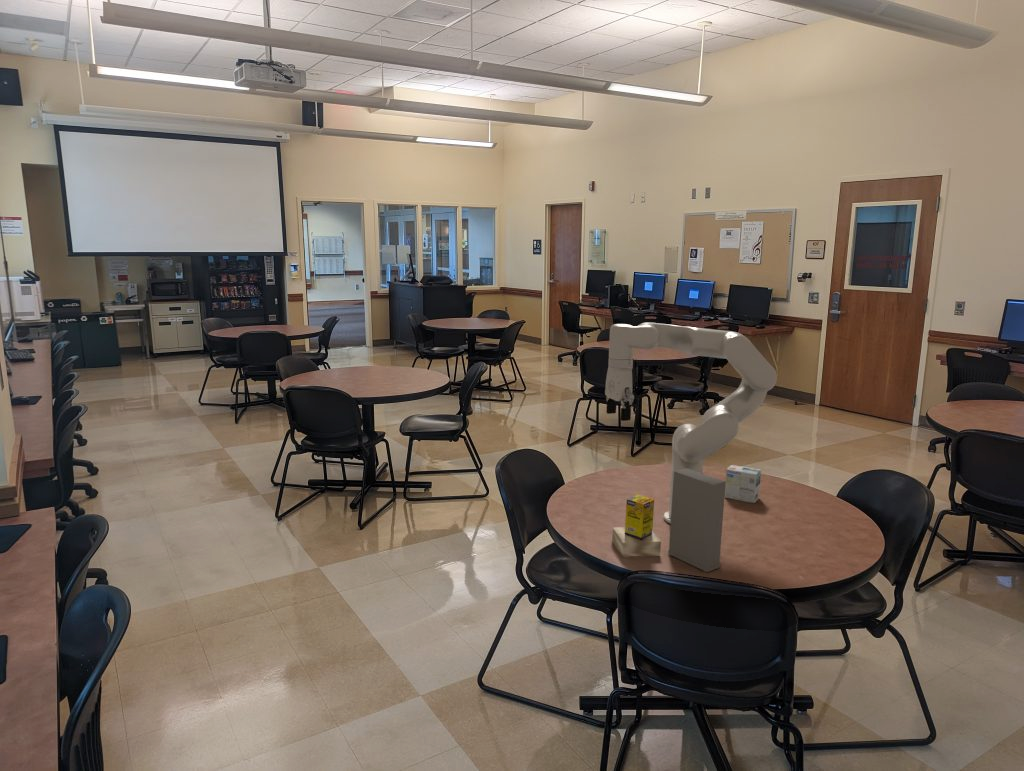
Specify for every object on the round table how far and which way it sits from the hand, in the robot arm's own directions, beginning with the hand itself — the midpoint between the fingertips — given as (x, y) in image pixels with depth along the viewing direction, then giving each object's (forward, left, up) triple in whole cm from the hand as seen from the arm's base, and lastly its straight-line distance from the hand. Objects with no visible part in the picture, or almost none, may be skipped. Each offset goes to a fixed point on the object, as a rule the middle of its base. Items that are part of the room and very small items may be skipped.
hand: (618, 416), depth 220 cm
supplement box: (+5, +25, -29) cm, 39 cm away
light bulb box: (-51, -2, -34) cm, 61 cm away
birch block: (+5, +25, -34) cm, 42 cm away
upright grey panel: (-7, +37, -34) cm, 50 cm away
